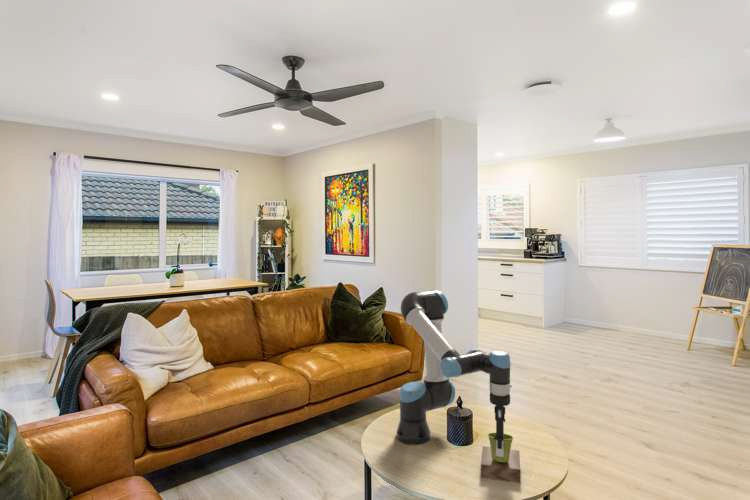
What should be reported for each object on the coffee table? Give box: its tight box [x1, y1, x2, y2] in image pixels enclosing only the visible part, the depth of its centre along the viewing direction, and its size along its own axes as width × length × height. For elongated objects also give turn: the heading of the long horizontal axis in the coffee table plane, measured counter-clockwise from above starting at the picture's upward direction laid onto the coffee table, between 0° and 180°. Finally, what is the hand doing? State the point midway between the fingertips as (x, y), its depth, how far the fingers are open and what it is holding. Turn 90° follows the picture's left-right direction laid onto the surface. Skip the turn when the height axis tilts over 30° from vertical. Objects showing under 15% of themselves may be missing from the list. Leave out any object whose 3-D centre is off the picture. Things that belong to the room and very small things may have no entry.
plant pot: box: [487, 432, 514, 462], centre depth 160 cm, size 9×9×9 cm
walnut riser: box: [480, 445, 522, 484], centre depth 163 cm, size 14×14×5 cm
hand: (499, 447), depth 163 cm, fingers open, 13 cm apart
